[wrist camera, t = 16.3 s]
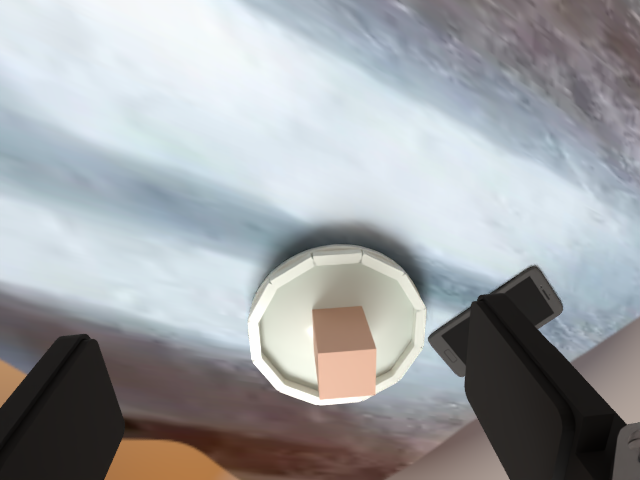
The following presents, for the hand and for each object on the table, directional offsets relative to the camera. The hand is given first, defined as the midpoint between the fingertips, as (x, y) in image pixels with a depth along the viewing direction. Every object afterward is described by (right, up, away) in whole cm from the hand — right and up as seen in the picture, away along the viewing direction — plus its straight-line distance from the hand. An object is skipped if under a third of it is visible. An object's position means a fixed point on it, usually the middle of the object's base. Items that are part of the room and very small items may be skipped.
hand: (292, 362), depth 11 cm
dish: (+2, -5, +34) cm, 35 cm away
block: (+3, -6, +33) cm, 33 cm away
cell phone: (+20, -6, +37) cm, 42 cm away
